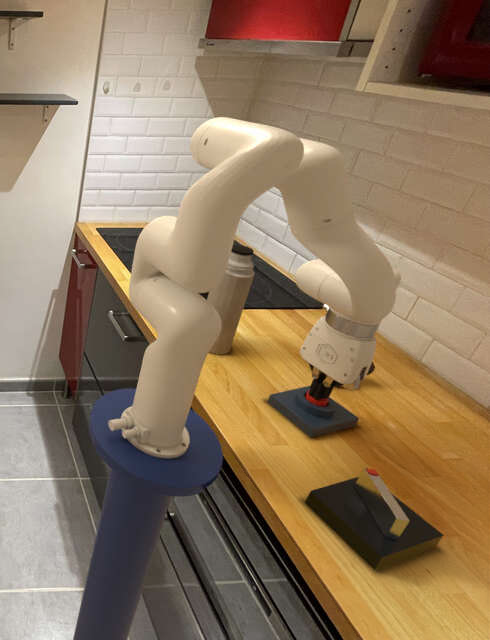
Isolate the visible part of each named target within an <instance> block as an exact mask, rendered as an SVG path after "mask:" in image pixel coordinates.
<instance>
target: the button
mask: <svg viewBox="0 0 490 640" xmlns="http://www.w3.org/2000/svg"><path fill="white" fill-rule="evenodd" d="M309 392H310V390H309V391H308V392H307V394H306V396H305V398H306V400H308V401H309V402H311V403H312V404H315V405H317V406H321V407H326V405H327V403H328V401H329V400H328V398H325V399H324V398H323V399H319V400H315V399H314V398H313V396H310V395H309Z"/></svg>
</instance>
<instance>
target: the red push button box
mask: <svg viewBox="0 0 490 640" xmlns="http://www.w3.org/2000/svg"><path fill="white" fill-rule="evenodd" d="M310 386H311V385H307V386H302V387H298V388H293V389H290V390H289V389H288V390H284V391H280V392H275V393H271V394H269V397H268V400H267V404H269V405H270V406H271V407H272V408H274V409H275V410H277V411H278V412H279V413H280V414H281V415H283V416H284V417H285V418H286V419H287V420H288V421H290V422H291V423H292V424H293V425H295V426H296V427H297V428H298V429H300V430H301V431H302V432H303V433H304V434H306V435H307V436H308V437H309V438H314V437H319V436H323V435H327V434H330V433H334V432H338V431H342V430H347V429H350V428H353V427H356V426H357V424H358V422H359V420H360V418H359V417H358V416H357V415H355V414H354V413H352V412H351V411H350V410H348V409H347V408H346V407H344V406H343V405H341V404H340V403H339V402H337V401H336V400H335V399H333V398H332V397H331V396H329V397H328V400H329V401H328V403H327V405H326V407H321V406H317V405H315V404H312V403H311V402H309V401H308V400H306V398H305V396H306V394H307V392H308V391H309V390H310Z"/></svg>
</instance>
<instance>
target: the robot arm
mask: <svg viewBox="0 0 490 640" xmlns="http://www.w3.org/2000/svg"><path fill="white" fill-rule="evenodd" d="M189 150H190V154H191V157H192V159H193V160H194V161H195V163H197V164H198V165H199V166H201V167H203V168H205V169H207V170H209V171H208V172H207V173H206V174H204V175H203V176H202V177H200V178H199V179H198V180H196V181H195V182H194V183H193V184H192V185H191V186H190V187H189V189H188V190H187V191H186V193H185V194H184V196H183V198H182V200H181V203H180V206H179V208H178V213H177V216H173V215H162V216H158V217H156V218H154V219H153V220H151V221H149V222H148V224H146V225H145V227H144V228H143V229H142V231H141V232H140V233H139V236H138V238H137V240H136V243H135V249H134V254H133V260H132V266H131V270H130V271H131V272H130V278H129V286H128V296H129V297H128V298H129V300H130V303H131V305H132V306H133V308H134V309H135V310H136V311H137V313H138V314H140V315H141V316H142V317H143V318H144V320H146V321H147V322H148V323H149V325H150V326H151V327H152V328H153V329H154V330H155V332H156V334H157V338H156V339H155V340H154V341H152V342H151V343H150V344H149V345H148V346H147V347H146V348H145V350H144V353H143V358H142V363H141V368H140V372H139V375H138V379H137V380H138V381H137V385H136V388H135V389H136V393H135V397H134V401H133V406H131V407H129V408H127V409H126V410H125V411H124V412H123V413H122V416H121V419H114V420H109V422H108V425H109V428H110V430H112V431H115V430H119V429H122V435H123V437H124V438H127V440H128V441H129V442H130V443H131V444H132V445H134V446H135V447H136V448H138V449H139V450H141V451H143V452H144V453H146V454H149V455H152V456H155V457H159V458H166V459H168V458H176V457H179V456H181V455H183V454H184V453H185V452H186V451H187V449H188V446H189V443H190V437H189V433H188V431H187V429H186V428H185V423H186V420H187V417H188V413H189V410H190V409H191V406H192V403H193V399H194V396H195V393H196V390H197V386H198V384H199V383H198V382H199V379H200V376H201V372H202V370H203V367H204V364H205V362H206V359H207V357H208V354H209V353H210V352H209V351H210V349H211V348H212V346H213V344H214V343H215V341H216V340H217V338H218V336H219V334H220V332H221V328H222V323H221V318H220V316H219V314H218V312H217V311H216V309H215V308H214V307H213V306H212V305H211V304H210V303H209V302H208V301H207V298H205V297H204V296H202V295H201V294H206V293H209V291H212V290H213V289H215V288H216V287H217V286H218V285H219V284H220V282H221V281H222V279H223V276H224V274H225V271H226V268H227V265H228V261H229V257H230V254H231V250H232V246H233V245H234V242H235V238H236V235H237V230H238V227H239V225H240V222H241V218H242V217H243V215H244V213H245V211H246V210H247V209H248V207H249V206H250V205H252V203H253V202H255V201H256V200H257V199H258V198H259V197H261V196H262V195H263V194H265V193H267V192H268V191H270V190H271V189H273V188H276V189H277V190H278V191H279V192H280V195H281V198H282V202H283V206H284V209H285V213H286V216H287V221H288V226H289V230H290V232H291V235H293V237H294V238H295V239H296V240H297V241H298V242H299V243H300V244H301V245H302V246H303V247H304V248H305V249H306V250H307V251H309V252H310V253H311V254H312V255H314V256H315V257H316V259H311V260H308V261H306V262H304V263H302V264H301V265H300V266H299V267H298V268H297V270H296V272H295V274H294V281H295V285H296V286H297V287H298V289H300V291H302V292H303V293H304V294H306V296H307V295H308V296H309V297H311V298H313V299H315V300H316V301H318V302H320V303H321V304H323V305H322V310H324V311H325V312H326V313H325V316H320V317H319V318H318V320H317V321H316V322H315V323H314V325H313V326H312V328H311V329H310V330H309V332H308V333H307V336H306V337H305V339H304V341H303V343H302V345H301V346H300V350H299V356H300V357H301V359H302V360H303V361H304V362H306V363H307V364H308V365H309V368H310V370H311V377H312V382H311V384H310V385H309V386H310V392H309V395H310V396H313V398H314V399H315V400H319V399H323V398H324V399H325V398H328V397H331V394H332V392H333V390H334V388H335V387H340V386H342V388H343V389H347V390H348V391H350V392H355V391H358V390H359V389H360V382H363V381H364V380H365V379H366V377H367V376H368V375H367V373H368V371H369V368H370V366H371V363H372V362H373V359H374V356H375V353H376V349H377V340H378V339H377V338H376V337H375V335H376V333H377V331H378V329H379V327H380V325H381V322H382V321H383V320H384V319H385V318H387V316H388V315H390V313H391V312H392V311H393V309H394V307H395V304H396V299H397V290H398V288H399V286H400V283H401V281H402V275H401V272H399V270H398V269H397V268H395V267H393V266H392V264H391V263H390V261H389V259H388V258H387V256H386V255H385V254H384V252H383V251H382V250H381V248H380V247H379V246H378V245H377V243H376V242H375V241H374V240H373V239H372V238H371V236H370V235H369V234H368V233H367V232H366V230H364V228H363V227H362V226H361V225H360V224H359V223H358V222H357V220H356V216H355V213H354V212H355V211H354V206H353V205H354V204H353V201H352V200H353V199H352V194H351V188H350V181H349V176H348V170H347V165H346V160H345V158H344V155H343V154H342V152H340V150H339V149H337V148H335V147H334V146H332V145H330V144H327V143H324V142H320V141H315V140H311V139H306V138H303V137H298V136H297V135H295V134H294V133H292V132H291V131H288V130H286V129H282V128H279V127H276V126H272V125H267V124H263V123H259V122H258V123H257V122H252V121H247V120H242V119H236V118H232V117H226V116H220V117H219V116H218V117H214V118H211V119H208V120H206V121H204V122H203V123H201V125H199V126H198V127H197V129H196V130H195V131H194V132H193V134H192V136H191V139H190V144H189ZM366 375H367V376H366Z"/></svg>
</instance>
